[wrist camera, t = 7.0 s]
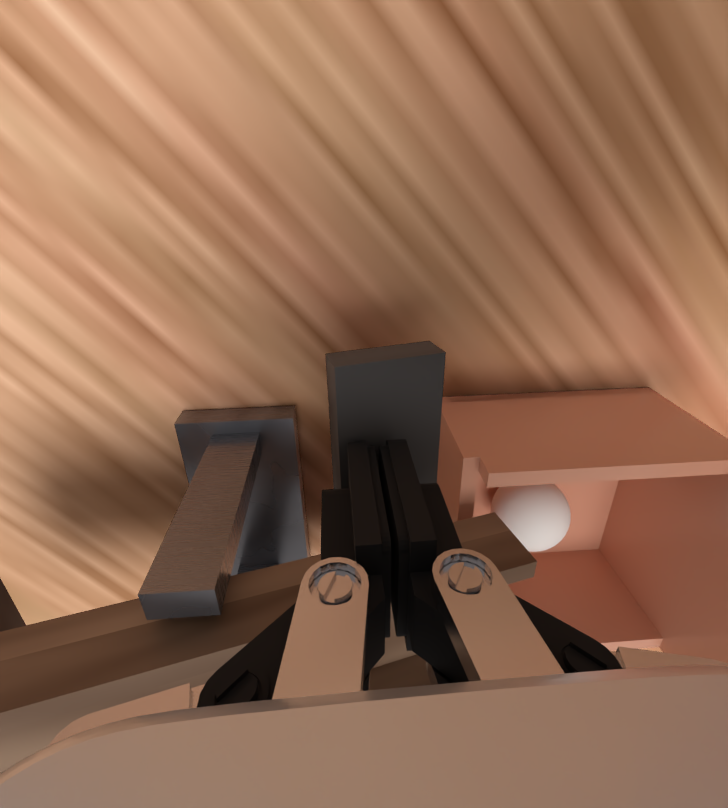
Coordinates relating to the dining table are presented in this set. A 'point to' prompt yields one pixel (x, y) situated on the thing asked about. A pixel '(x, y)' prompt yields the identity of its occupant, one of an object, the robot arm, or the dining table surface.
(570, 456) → the cup
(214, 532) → the stand
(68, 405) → the dining table surface
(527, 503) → the ball
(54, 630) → the lever
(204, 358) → the dining table surface
